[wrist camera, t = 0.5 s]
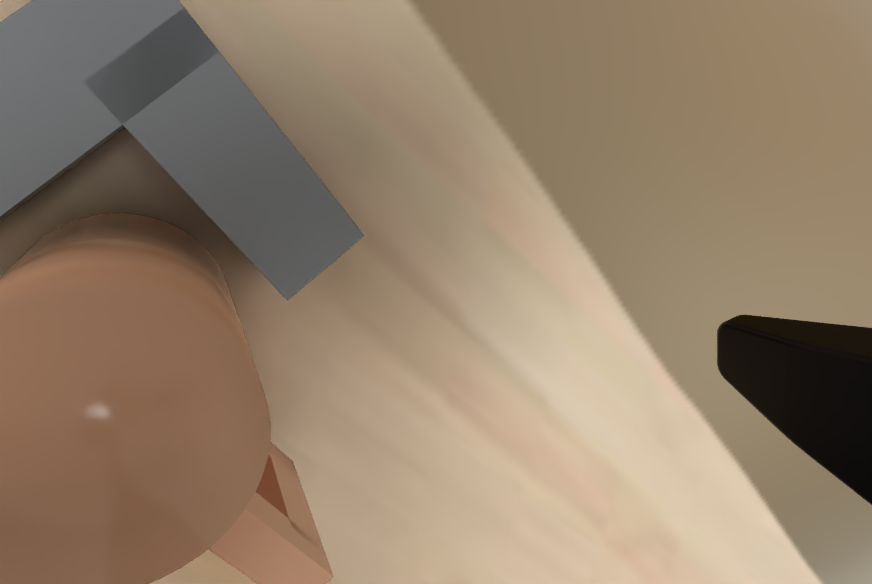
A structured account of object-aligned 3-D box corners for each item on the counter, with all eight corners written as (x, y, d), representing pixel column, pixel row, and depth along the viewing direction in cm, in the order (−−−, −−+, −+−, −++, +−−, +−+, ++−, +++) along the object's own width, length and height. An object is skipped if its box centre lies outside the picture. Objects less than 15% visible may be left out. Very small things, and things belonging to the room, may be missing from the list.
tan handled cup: (199, 496, 21) (217, 718, 14) (-51, 308, 17) (-247, 480, 9) (332, 378, 22) (421, 523, 14) (130, 170, 18) (97, 214, 10)
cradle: (-9, 503, 19) (-44, 580, 16) (-339, 304, 14) (-478, 355, 11) (335, 217, 21) (364, 235, 18) (135, -32, 16) (126, -66, 13)
